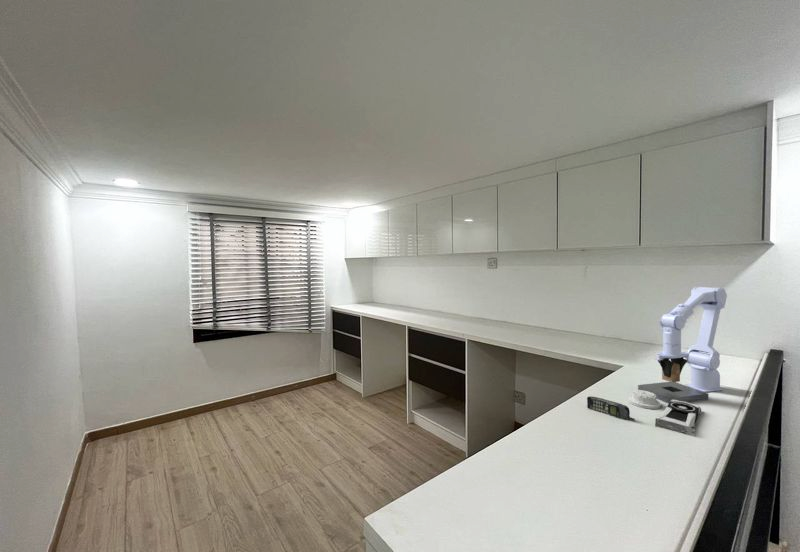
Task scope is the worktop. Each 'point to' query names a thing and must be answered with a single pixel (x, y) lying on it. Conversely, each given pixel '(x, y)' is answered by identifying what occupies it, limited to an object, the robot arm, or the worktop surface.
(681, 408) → the graphics card
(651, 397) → the mechanical component
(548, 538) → the worktop surface
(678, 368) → the walnut peg
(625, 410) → the mobile phone
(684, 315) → the robot arm
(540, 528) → the worktop surface
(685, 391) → the hole plate
